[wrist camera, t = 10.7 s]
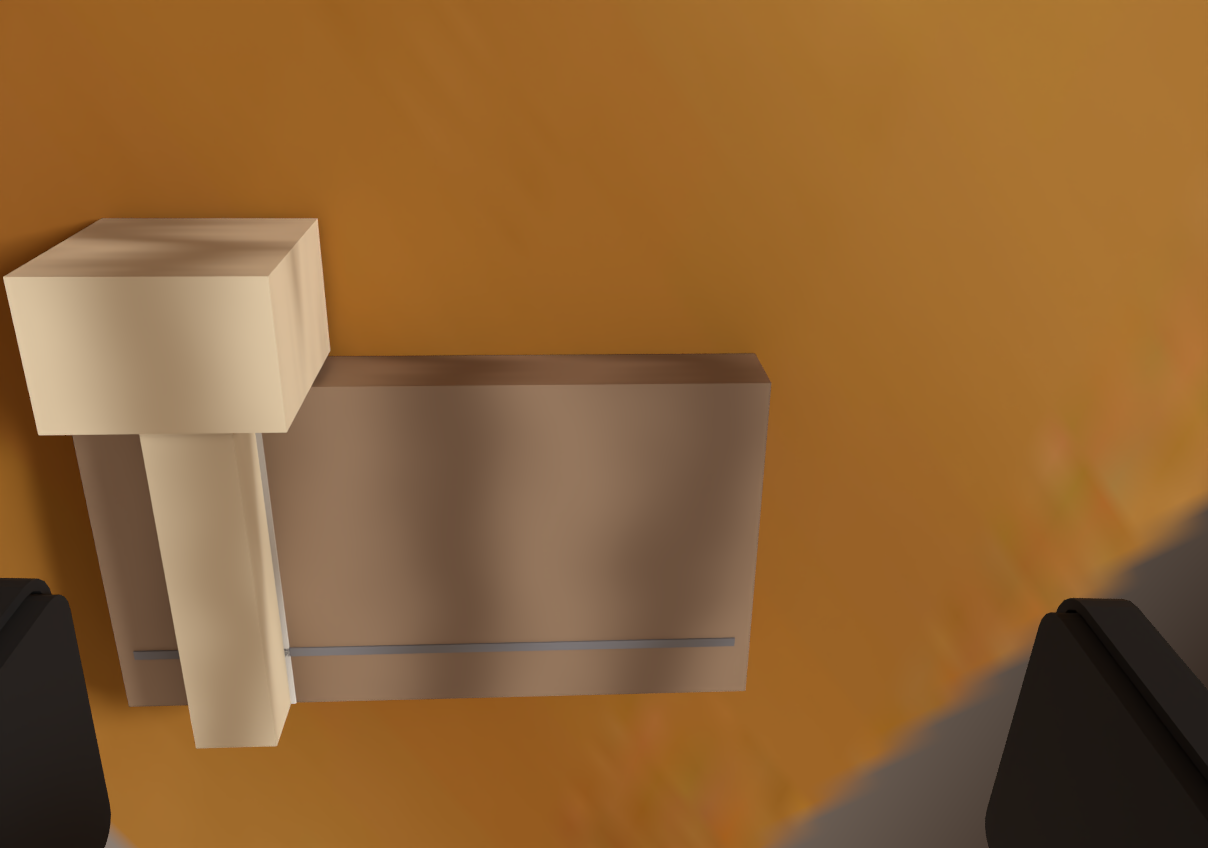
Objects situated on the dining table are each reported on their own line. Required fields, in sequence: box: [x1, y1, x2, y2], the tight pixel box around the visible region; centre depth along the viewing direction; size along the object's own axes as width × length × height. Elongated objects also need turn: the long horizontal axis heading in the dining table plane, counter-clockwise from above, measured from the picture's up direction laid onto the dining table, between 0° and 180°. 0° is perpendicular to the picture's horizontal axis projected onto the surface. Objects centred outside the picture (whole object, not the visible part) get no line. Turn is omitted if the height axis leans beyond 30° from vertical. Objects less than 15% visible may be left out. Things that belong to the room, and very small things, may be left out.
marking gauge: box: [3, 218, 330, 748], centre depth 30 cm, size 6×15×6 cm, turn 179°
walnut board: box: [72, 354, 771, 707], centre depth 33 cm, size 20×11×3 cm, turn 89°
